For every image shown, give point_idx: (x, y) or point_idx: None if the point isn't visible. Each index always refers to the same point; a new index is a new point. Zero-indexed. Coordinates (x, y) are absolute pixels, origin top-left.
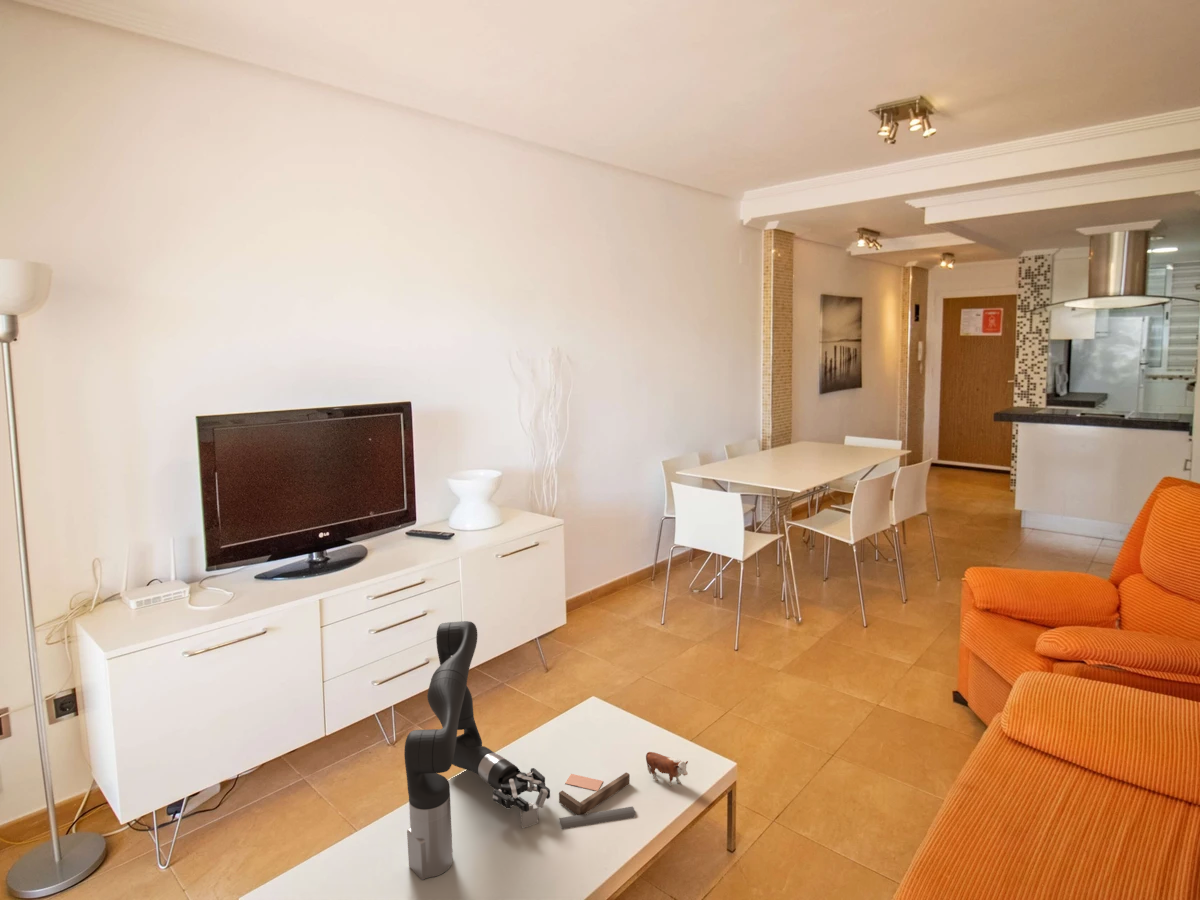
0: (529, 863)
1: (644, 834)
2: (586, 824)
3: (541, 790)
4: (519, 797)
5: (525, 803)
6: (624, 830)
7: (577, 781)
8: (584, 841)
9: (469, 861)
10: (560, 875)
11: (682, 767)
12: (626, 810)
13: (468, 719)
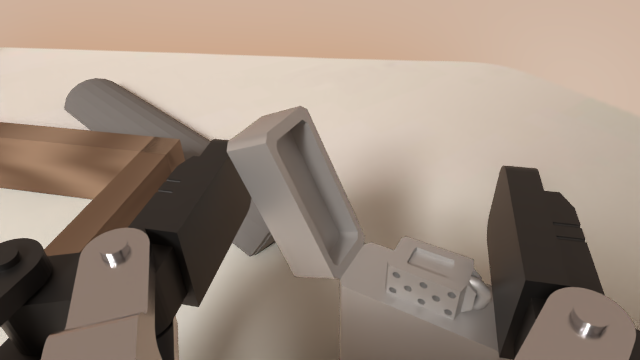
0: (624, 201)
1: (197, 59)
2: None
3: (270, 153)
4: (540, 267)
5: (536, 174)
6: (202, 85)
7: None
8: (329, 129)
9: None
10: (533, 112)
11: None
12: (107, 87)
13: None
